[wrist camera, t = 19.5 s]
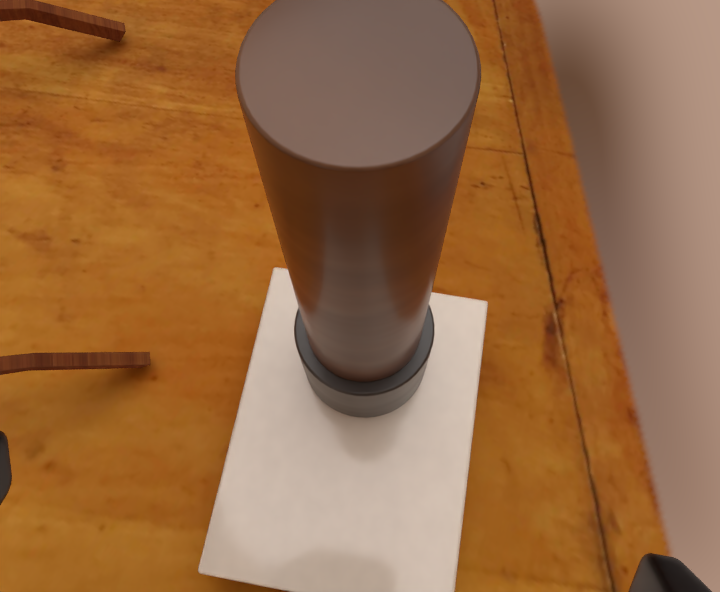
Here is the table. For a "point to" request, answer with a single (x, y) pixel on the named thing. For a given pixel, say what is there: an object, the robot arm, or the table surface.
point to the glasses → (19, 3)
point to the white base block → (347, 468)
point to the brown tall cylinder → (360, 178)
